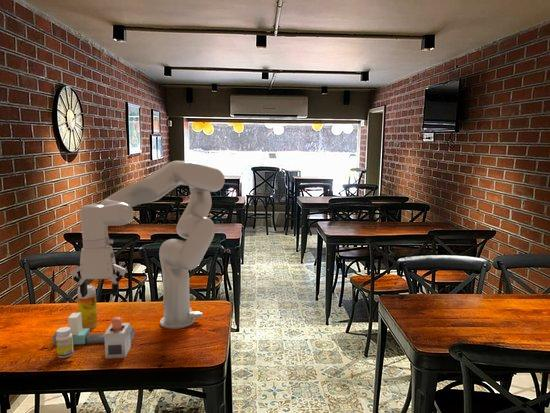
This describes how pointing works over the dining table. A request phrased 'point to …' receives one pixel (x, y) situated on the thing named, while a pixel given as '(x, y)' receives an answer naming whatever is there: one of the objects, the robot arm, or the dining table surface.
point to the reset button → (117, 324)
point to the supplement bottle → (64, 342)
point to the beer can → (88, 307)
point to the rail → (95, 337)
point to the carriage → (77, 328)
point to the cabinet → (117, 342)
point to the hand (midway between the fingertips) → (100, 295)
